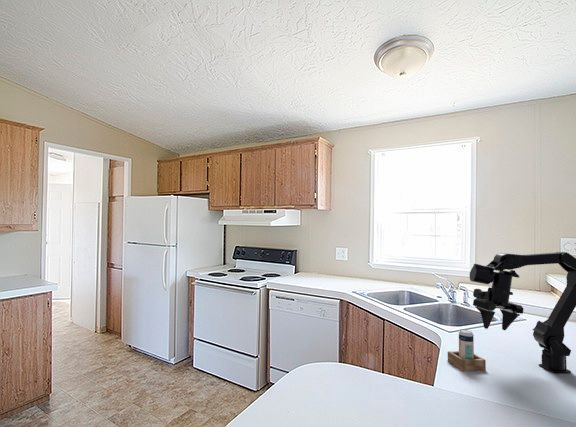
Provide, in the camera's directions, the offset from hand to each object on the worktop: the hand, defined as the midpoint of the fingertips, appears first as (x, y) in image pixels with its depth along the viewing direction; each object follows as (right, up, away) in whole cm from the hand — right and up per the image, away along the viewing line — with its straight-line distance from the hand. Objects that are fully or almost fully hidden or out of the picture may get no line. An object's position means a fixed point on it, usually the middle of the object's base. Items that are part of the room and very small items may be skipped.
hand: (494, 329), depth 116 cm
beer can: (-12, -12, -3) cm, 17 cm away
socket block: (-12, -12, -3) cm, 17 cm away
